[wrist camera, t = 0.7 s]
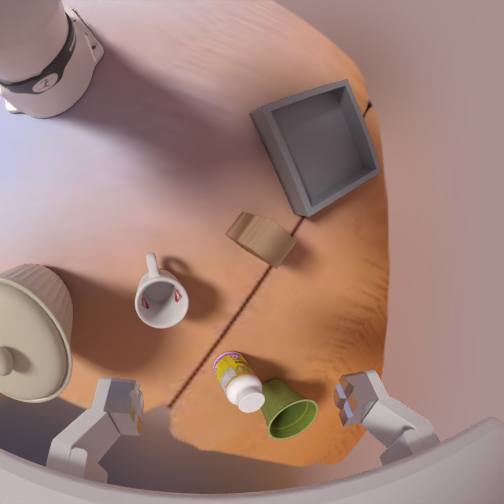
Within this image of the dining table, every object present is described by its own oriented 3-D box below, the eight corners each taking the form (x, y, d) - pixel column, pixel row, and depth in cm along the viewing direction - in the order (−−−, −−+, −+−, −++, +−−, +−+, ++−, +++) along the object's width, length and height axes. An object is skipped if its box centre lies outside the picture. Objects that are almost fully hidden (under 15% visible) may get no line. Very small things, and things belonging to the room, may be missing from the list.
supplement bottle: (250, 360, 57) (277, 397, 46) (227, 381, 57) (250, 421, 45) (228, 344, 55) (254, 382, 43) (205, 366, 54) (225, 408, 42)
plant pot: (244, 413, 61) (264, 445, 51) (249, 374, 58) (272, 407, 48) (288, 403, 65) (312, 432, 55) (297, 366, 63) (324, 394, 53)
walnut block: (225, 234, 49) (252, 249, 39) (242, 211, 50) (274, 220, 39) (245, 250, 52) (276, 269, 41) (261, 228, 52) (296, 241, 41)
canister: (65, 232, 39) (18, 269, 20) (103, 331, 45) (95, 414, 26) (-15, 264, 33) (-78, 311, 14) (25, 353, 39) (-6, 430, 20)
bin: (249, 113, 46) (261, 107, 41) (331, 84, 50) (347, 79, 46) (294, 213, 54) (308, 217, 49) (365, 171, 58) (381, 172, 53)
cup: (125, 252, 44) (123, 265, 36) (172, 241, 46) (179, 252, 39) (141, 312, 47) (143, 334, 40) (185, 301, 49) (194, 321, 42)
